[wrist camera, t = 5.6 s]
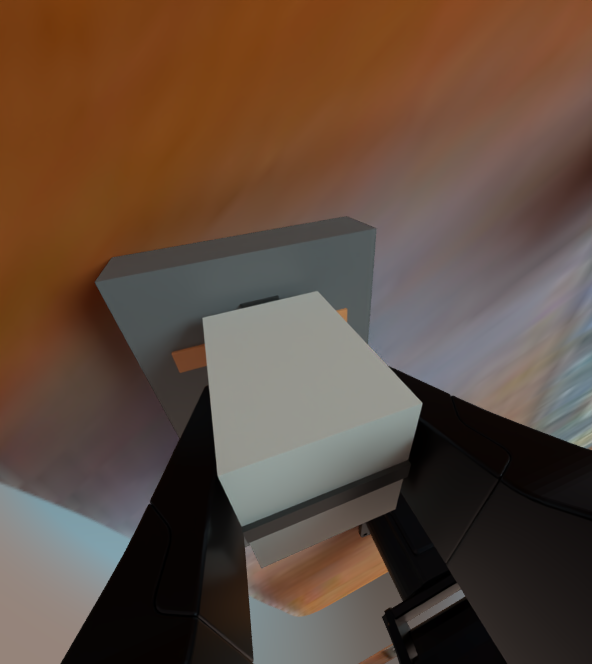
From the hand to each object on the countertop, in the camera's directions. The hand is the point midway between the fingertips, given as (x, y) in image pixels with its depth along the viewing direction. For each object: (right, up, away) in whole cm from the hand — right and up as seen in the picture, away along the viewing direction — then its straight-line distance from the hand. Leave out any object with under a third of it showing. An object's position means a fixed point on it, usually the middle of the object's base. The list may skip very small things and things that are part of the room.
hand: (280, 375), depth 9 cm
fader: (0, +1, +1) cm, 1 cm away
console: (-1, -3, +6) cm, 7 cm away
